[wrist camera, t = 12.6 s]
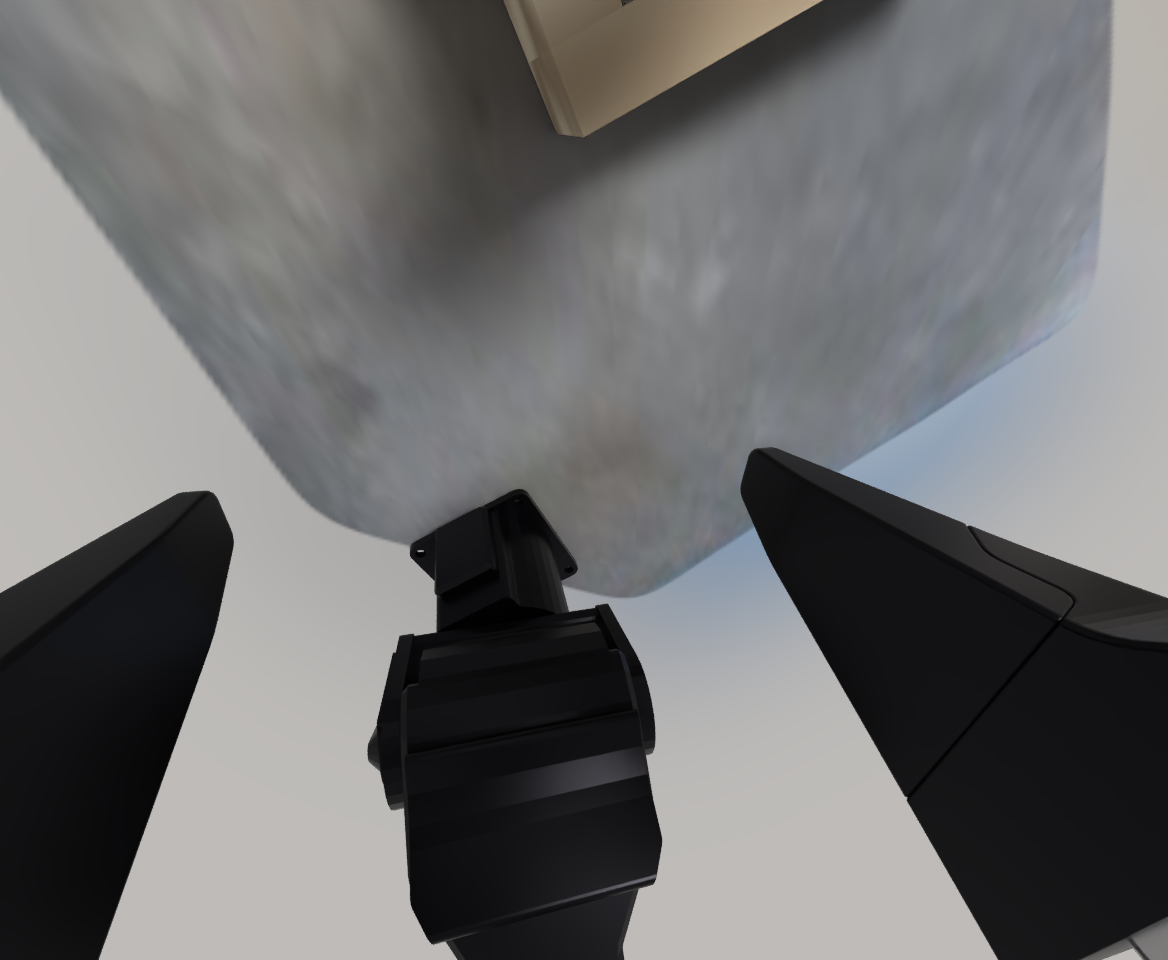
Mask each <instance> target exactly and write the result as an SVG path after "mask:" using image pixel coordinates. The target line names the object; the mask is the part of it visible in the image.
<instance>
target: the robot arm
mask: <svg viewBox="0 0 1168 960" xmlns="http://www.w3.org/2000/svg"><path fill="white" fill-rule="evenodd" d="M741 496H742V499H743V501H744V503H745V506H746V508H747V510H748V513H749V515H750V517H751V519H752V522H753V524H754V526H755V529H756V531H757V533H758V535H759V538H760V540H761V542H762V545H763V547H764V549H765V551H766V554H767V556H768V558H769V560H770V562H771V563H772V565H773V567H774V569H775V571H776V573H777V574H778V577H779V578H780V580H781V582H782V583H783V585H784V587H785V589H786V590H787V592H788V594H789V595H790V597H791V599H792V601H793V603H794V604H795V606H796V608H797V610H798V611H799V613H800V615H801V617H802V618H803V620H804V622H805V624H806V625H807V627H808V629H809V631H810V632H811V634H812V636H813V637H814V639H815V641H816V643H817V644H818V646H819V648H820V650H821V651H822V653H823V655H824V657H825V658H826V660H827V662H828V664H829V665H830V667H831V669H832V670H833V672H834V674H835V676H836V677H837V679H838V681H839V683H840V684H841V686H842V688H843V690H844V691H845V693H846V695H847V697H848V698H849V700H850V702H851V704H852V705H853V707H854V709H855V711H856V712H857V714H858V716H859V718H860V719H861V721H862V723H863V724H864V726H865V728H866V730H867V732H868V733H869V735H870V737H871V738H872V740H873V741H874V744H875V745H876V747H877V749H878V751H879V752H880V754H881V756H882V758H883V759H884V761H885V763H886V764H887V766H888V768H889V770H890V771H891V773H892V775H893V777H894V779H895V780H896V782H897V784H898V785H899V787H900V789H901V791H902V792H903V794H904V796H905V797H908V798H907V802H908V803H909V805H910V807H911V808H912V810H913V812H914V814H915V816H916V817H917V819H918V821H919V823H920V824H921V826H922V828H923V829H924V831H925V833H926V835H927V837H928V838H929V840H930V842H931V844H932V845H933V847H934V849H935V850H936V852H937V854H938V856H939V858H940V859H941V861H942V863H943V865H944V866H945V868H946V870H947V871H948V873H949V875H950V877H951V878H952V880H953V882H954V884H955V885H956V887H957V889H958V891H959V892H960V894H961V896H962V898H963V899H964V901H965V903H966V905H967V906H968V908H969V910H970V912H971V913H972V915H973V917H974V919H975V920H976V922H977V924H978V925H979V927H980V929H981V931H982V932H983V934H984V936H985V938H986V940H987V941H988V943H989V945H990V946H991V948H992V950H993V952H994V954H995V955H996V957H997V959H998V960H1102V959H1104V958H1107V957H1110V956H1113V955H1115V954H1118V953H1121V952H1124V951H1126V950H1129V949H1132V948H1133V949H1134V950H1135V951H1136V952H1137V954H1138V955H1139V956H1140V957H1141V958H1142V960H1168V598H1166V597H1163V596H1160V595H1158V594H1155V593H1152V592H1149V591H1146V590H1143V589H1141V588H1138V587H1135V586H1132V585H1129V584H1126V583H1123V582H1121V581H1118V580H1115V579H1112V578H1109V577H1106V576H1104V575H1101V574H1098V573H1095V572H1092V571H1090V570H1087V569H1084V568H1081V567H1078V566H1075V565H1073V564H1070V563H1067V562H1064V561H1061V560H1059V559H1056V558H1053V557H1051V556H1048V555H1045V554H1042V553H1040V552H1037V551H1034V550H1031V549H1029V548H1026V547H1023V546H1021V545H1018V544H1016V543H1013V542H1011V541H1008V540H1006V539H1003V538H1000V537H998V536H995V535H992V534H990V533H987V532H985V531H983V530H980V529H978V528H975V527H973V526H966V524H964V523H962V522H960V521H957V520H955V519H952V518H950V517H947V516H945V515H942V514H940V513H937V512H935V511H932V510H930V509H927V508H925V507H922V506H920V505H917V504H915V503H912V502H910V501H907V500H905V499H902V498H900V497H897V496H895V495H892V494H890V493H887V492H885V491H882V490H880V489H877V488H875V487H872V486H870V485H867V484H865V483H862V482H860V481H857V480H855V479H852V478H850V477H847V476H845V475H842V474H840V473H837V472H835V471H832V470H830V469H827V468H825V467H822V466H820V465H817V464H815V463H812V462H810V461H807V460H805V459H802V458H800V457H797V456H795V455H792V454H790V453H787V452H785V451H782V450H780V449H777V448H773V447H769V448H757V449H754V450H753V451H751V453H750V454H749V457H748V461H747V464H746V468H745V471H744V475H743V479H742V482H741ZM518 498H523V500H522V501H520V502H517V501H515V500H516V499H518ZM233 545H234V539H233V534H232V531H231V528H230V526H229V524H228V521H227V520H226V517H225V514H224V512H223V510H222V507H221V505H220V503H219V501H218V499H217V497H216V496H215V495H214V493H212V492H210V491H194V492H182V493H178V494H176V495H174V496H172V497H171V498H169V499H167V500H166V501H163V502H162V503H160V504H158V505H156V506H155V507H153V508H151V509H149V510H147V511H146V512H144V513H142V514H140V515H139V516H137V517H135V518H133V519H131V520H130V521H128V522H126V523H124V524H122V525H121V526H119V527H117V528H115V529H114V530H112V531H110V532H108V533H107V534H105V535H103V536H101V537H99V538H98V539H96V540H94V541H92V542H90V543H89V544H87V545H85V546H83V547H81V548H80V549H78V550H76V551H74V552H73V553H71V554H69V555H67V556H65V557H64V558H62V559H60V560H59V561H57V562H55V563H53V564H51V565H49V566H48V567H46V568H44V569H42V570H41V571H39V572H37V573H35V574H34V575H32V576H30V577H28V578H26V579H24V580H23V581H21V582H19V583H17V584H16V585H14V586H12V587H10V588H8V589H7V590H5V591H3V592H1V593H0V960H99V957H100V954H101V952H102V949H103V946H104V943H105V940H106V937H107V935H108V932H109V929H110V926H111V924H112V921H113V918H114V915H115V912H116V910H117V907H118V904H119V901H120V898H121V895H122V893H123V890H124V887H125V884H126V881H127V878H128V876H129V873H130V870H131V867H132V865H133V861H134V859H135V856H136V853H137V850H138V848H139V845H140V842H141V839H142V836H143V834H144V831H145V828H146V825H147V822H148V820H149V817H150V814H151V811H152V808H153V805H154V803H155V800H156V797H157V794H158V792H159V789H160V786H161V783H162V780H163V777H164V775H165V772H166V769H167V766H168V763H169V761H170V758H171V754H172V752H173V749H174V746H175V744H176V741H177V738H178V735H179V732H180V730H181V727H182V724H183V721H184V719H185V716H186V713H187V710H188V707H189V704H190V702H191V699H192V696H193V693H194V690H195V688H196V684H197V682H198V679H199V676H200V674H201V671H202V668H203V665H204V662H205V659H206V657H207V654H208V651H209V648H210V645H211V642H212V639H213V636H214V633H215V628H216V624H217V621H218V617H219V612H220V607H221V603H222V598H223V593H224V589H225V584H226V579H227V575H228V570H229V565H230V561H231V556H232V551H233ZM418 550H424V552H418ZM410 556H411V558H412V559H413V560H414V561H415V562H416V563H417V564H418V565H419V566H420V567H421V568H422V569H423V570H424V571H425V572H426V573H427V574H428V575H429V576H430V577H431V578H432V579H433V580H434V581H435V594H436V595H437V633H430V634H424V635H418V636H414V634H408V635H402V636H399V641H398V645H397V650H396V653H393V655H392V660H391V664H390V668H389V672H388V677H387V681H386V686H385V689H384V694H383V698H382V702H381V707H380V711H379V715H378V720H377V726H376V728H375V730H374V733H373V735H372V737H371V739H370V741H369V743H368V760H369V762H370V763H371V764H372V765H373V766H374V767H375V768H377V769H378V770H379V771H380V772H381V777H382V782H383V784H384V789H385V795H386V799H387V802H388V805H389V807H390V809H391V810H398V809H402V808H404V815H405V831H406V849H407V866H408V878H409V884H410V902H411V906H412V909H413V911H414V913H415V915H416V917H417V919H418V921H419V923H420V925H421V927H422V929H423V931H424V933H425V935H426V937H427V939H428V940H429V942H430V943H431V944H433V945H434V944H437V943H441V942H445V941H446V943H447V944H448V946H449V947H450V949H451V950H452V952H453V953H454V955H455V956H456V958H457V960H624V954H623V942H624V938H625V935H626V932H627V928H628V925H629V921H630V917H631V914H632V911H633V907H634V903H635V900H636V896H637V893H638V889H639V888H643V887H647V886H650V885H653V884H654V882H655V880H656V876H657V871H658V865H659V859H660V853H661V847H662V835H661V831H660V827H659V823H658V818H657V814H656V810H655V805H654V801H653V796H652V790H651V784H650V778H649V772H648V766H647V759H646V755H649V754H651V753H653V750H654V747H655V721H654V713H653V707H652V701H651V696H650V692H649V687H648V684H647V680H646V677H645V674H644V671H643V668H642V665H641V663H640V661H639V659H638V657H637V655H636V653H635V651H634V649H633V648H632V646H631V644H630V643H629V641H628V639H627V637H626V635H625V633H624V632H623V630H622V628H621V626H620V625H619V623H618V621H617V619H616V617H615V615H614V614H613V612H612V610H611V608H610V607H609V605H608V604H602V605H596V606H595V608H591V609H585V610H578V611H572V612H569V610H568V606H567V602H566V598H565V595H564V591H563V587H562V583H561V581H562V580H564V579H566V578H568V577H570V576H572V575H574V574H575V573H576V572H577V570H578V567H577V564H576V561H575V559H574V558H573V556H572V555H571V553H570V552H569V551H568V549H567V548H566V546H565V545H564V544H563V542H562V541H561V539H560V538H559V536H558V535H557V534H556V532H555V531H554V529H553V528H552V526H551V525H550V524H549V522H548V521H547V519H546V518H545V516H544V515H543V514H542V512H541V511H540V509H539V508H538V506H537V505H536V504H535V502H534V501H533V499H532V498H531V497H530V495H529V494H528V492H526V491H525V490H523V489H517V490H514V491H512V492H510V493H508V494H506V495H504V496H502V497H500V498H498V499H496V500H494V501H493V502H491V503H489V504H487V505H485V506H483V507H479V508H477V509H475V510H473V511H471V512H469V513H467V514H465V515H463V516H461V517H459V518H458V519H456V520H454V521H452V522H450V523H448V524H446V525H444V526H442V527H440V528H438V529H437V531H435V532H433V533H431V534H429V535H427V536H425V537H424V538H422V539H420V540H418V541H416V542H414V543H413V544H412V545H411V547H410ZM568 566H571V567H569V568H566V567H568Z"/></svg>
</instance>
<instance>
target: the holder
mask: <svg viewBox="0 0 1168 960" xmlns="http://www.w3.org/2000/svg"><path fill="white" fill-rule="evenodd" d="M503 1H504V3H505V6H506V8H507V11H508V13H509V16H510V18H511V21H512V23H513V26H514V28H515V31H516V33H517V36H518V38H519V41H520V43H521V46H522V48H523V51H524V53H525V56H526V58H527V61H528V63H529V66H530V68H531V70H532V73H533V75H534V78H535V80H536V83H537V85H538V88H539V90H540V93H541V95H542V98H543V100H544V103H545V105H546V108H547V110H548V113H549V115H550V118H551V120H552V123H553V125H554V128H555V130H556V133H557V134H561V135H568V136H575V137H583V138H584V137H586V136H587V135H589V134H591V133H593V132H594V131H596V130H598V129H600V128H601V127H603V126H605V125H607V124H608V123H610V122H612V121H614V120H615V119H617V118H619V117H620V116H622V115H624V114H626V113H627V112H629V111H631V110H633V109H634V108H636V107H638V106H640V105H641V104H643V103H645V102H647V101H648V100H650V99H652V98H654V97H655V96H657V95H659V94H660V93H662V92H664V91H666V90H667V89H669V88H671V87H673V86H674V85H676V84H678V83H680V82H681V81H683V80H685V79H687V78H688V77H690V76H692V75H694V74H695V73H697V72H699V71H700V70H702V69H704V68H706V67H707V66H709V65H711V64H713V63H714V62H716V61H718V60H720V59H721V58H723V57H725V56H727V55H728V54H730V53H732V52H734V51H735V50H737V49H739V48H740V47H742V46H744V45H746V44H747V43H749V42H751V41H753V40H754V39H756V38H758V37H760V36H761V35H763V34H765V33H767V32H768V31H770V30H772V29H774V28H775V27H777V26H779V25H781V24H782V23H784V22H786V21H787V20H789V19H791V18H793V17H794V16H796V15H798V14H800V13H801V12H803V11H805V10H807V9H808V8H810V7H812V6H814V5H815V4H817V3H819V2H821V1H822V0H633V1H631V2H630V3H628V4H626V5H625V6H622V2H621V0H503Z"/></svg>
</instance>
